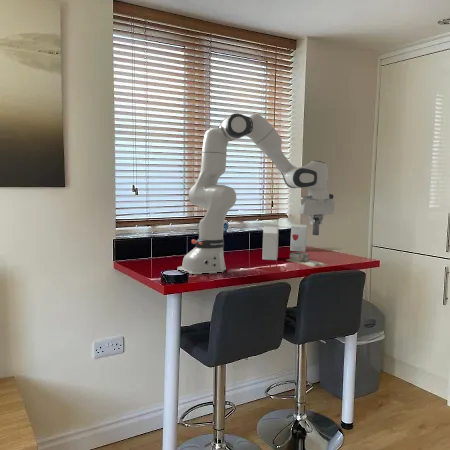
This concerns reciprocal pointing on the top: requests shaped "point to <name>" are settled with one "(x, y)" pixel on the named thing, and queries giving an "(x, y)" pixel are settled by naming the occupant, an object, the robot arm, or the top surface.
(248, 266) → the top surface
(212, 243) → the robot arm
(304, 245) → the supplement box
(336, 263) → the top surface
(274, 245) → the milk carton
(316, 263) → the eye block
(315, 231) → the pin
